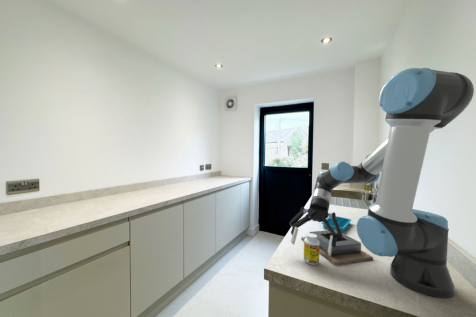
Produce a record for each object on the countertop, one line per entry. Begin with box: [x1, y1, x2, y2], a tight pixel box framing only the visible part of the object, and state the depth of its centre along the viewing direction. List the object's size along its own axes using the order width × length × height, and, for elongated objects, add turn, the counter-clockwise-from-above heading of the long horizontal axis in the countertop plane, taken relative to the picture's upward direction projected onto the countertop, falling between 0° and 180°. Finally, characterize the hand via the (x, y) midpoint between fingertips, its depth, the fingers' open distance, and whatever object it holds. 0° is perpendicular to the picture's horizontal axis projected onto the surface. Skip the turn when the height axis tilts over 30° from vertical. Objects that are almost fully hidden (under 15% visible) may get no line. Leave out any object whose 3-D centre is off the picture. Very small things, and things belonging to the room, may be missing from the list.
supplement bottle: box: [303, 233, 320, 266], centre depth 73 cm, size 6×6×10 cm
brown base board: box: [300, 236, 374, 266], centre depth 84 cm, size 22×18×1 cm
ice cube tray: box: [321, 215, 352, 233], centre depth 112 cm, size 12×20×3 cm, turn 138°
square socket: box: [309, 229, 362, 256], centre depth 84 cm, size 14×14×4 cm
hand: (309, 248), depth 73 cm, fingers open, 13 cm apart
